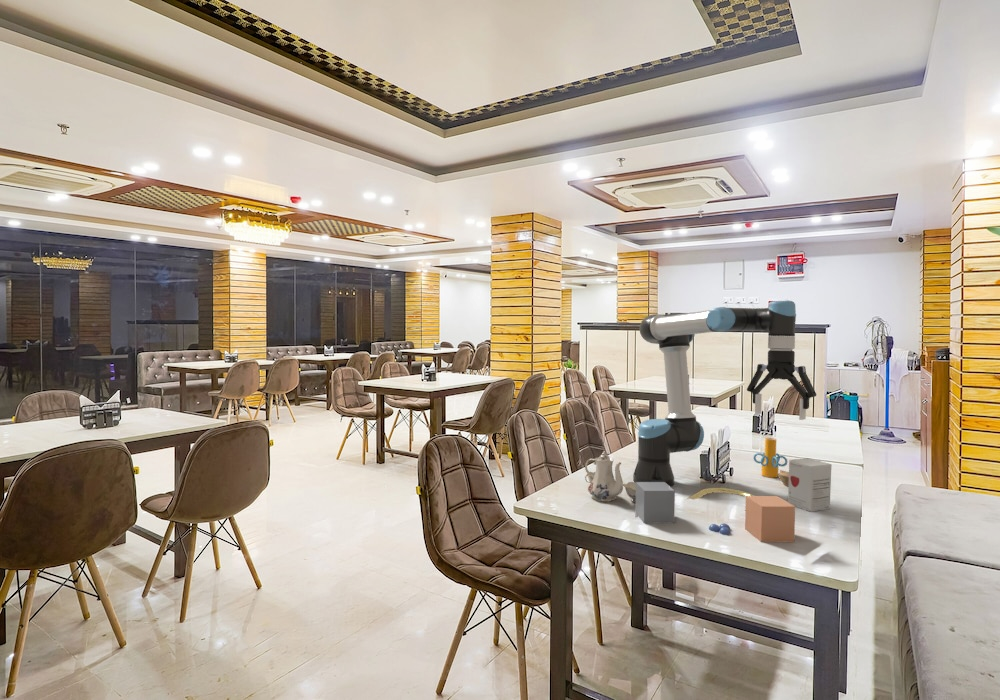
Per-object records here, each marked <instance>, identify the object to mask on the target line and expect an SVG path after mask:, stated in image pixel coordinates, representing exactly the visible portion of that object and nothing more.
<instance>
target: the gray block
mask: <svg viewBox="0 0 1000 700" xmlns="http://www.w3.org/2000/svg"><path fill="white" fill-rule="evenodd" d="M635 483H636V502H635V510H634V511H635V512H634V513H635V518H639V519H640V520H641V522H642V523H643V524H675V507H676V506H675V505H676V504H675V501H676V499H675V498H676V497H675V496H676V490H674V489H673V488H672V487H671V486H669V485H668V484H666V483H665V482H635Z"/></svg>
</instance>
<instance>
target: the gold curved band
mask: <svg viewBox="0 0 1000 700" xmlns="http://www.w3.org/2000/svg"><path fill="white" fill-rule="evenodd" d="M712 492H714V493H723V492H724V493H726V494H732V493H733V495H737V494H739V495H738V496H741V495H743V496H742V497H744V496H755V495H754V494H751V493H750V492H746V491H744V490H738V489H733V488H724V487H711V488H704V489H701V490H700V491H698V492H696V493H694V494H693V495H691V496H690V497H688V498H686V499H685V500H687V501H688V500H689V499H690V500H696V499H701V498H702V497H703V495H704V496H705V495H707V493H708V494H712ZM700 497H701V498H700Z"/></svg>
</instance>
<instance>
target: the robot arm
mask: <svg viewBox="0 0 1000 700" xmlns="http://www.w3.org/2000/svg"><path fill="white" fill-rule="evenodd" d="M796 318H797V313H796V303H795V302H794V301H793V300H774V301H773V300H772V301H770V302H769V304H768V307H765V308H763V307H761V308H758V307H757V308H755V307H754V308H750V307H749V308H748V307H726V306H720V307H713V308H711V309H708V310H701V311H700V310H699V311H694V312H689V313H688V312H687V313H680V314H658V313H657V314H656V313H655V314H649V315H648V316H646V317H644V318H643V319H642V320H641V322H640V324H639V333H640V335H641V337H642V339H643V340H644V341H645V342H647V343H649V344H653V345H654V344H655V345H658V346H659V347H658V349H659V350H660V351H661V352H662V353H663V361H664V362H663V363H664V372H665V374H664V375H665V386H666V399H667V407H668V413H667V414H666V415H665V416H664V418H656V419H655V418H652V419H647V420H644V421H642V422H640V424H639V425H638V432H637V436H638V437H637V438H638V444H637V445H638V454H637V455H638V456H637V459H638V460H637V462H636V466H635V468H634V472H633V475H632V476H633V477H632V479H633V481H632V482H635V483H636V482H665V483H666V484H668V485H669V486H670V487H671V486H673V485H674V484H675V475H674V473H673V470H672V469H673V468H672V466H671V460H670V459H671V454H673V453H681V452H690V451H694V450H698V449H699V448H700V446H702V444H703V442H704V438H705V431H704V427H703V426H702V424H701V423H700V422H699V421H698V420H697V416H696V415H695V413H693V412H692V405H691V403H692V402H691V394H690V393H691V391H690V382H689V381H690V380H689V370H688V368H689V367H688V357H687V351H688V350H689V349H690V348H691V346H690V343H692V342H693V340H694V338H695V335H697V334H706V333H719V332H732V331H733V332H734V331H735V332H768V333H767V334H768V337H767V338H768V340H767V341H768V342H767V348H768V349H769V350H768V351H767V364H764V363H759V364H757V367H756V371H755V373H754V374H753V377H752V378H751V380H750V382H749V384H748V386H747V388H746V391H747V392H749V393H751V394H752V403H753V404H754V405H755V406H754V415H761V414H762V396H763V395H762V394H763V393H760V392H762V390H763V389H764V388H765V387H766V386H767V385H768V384H769V383H770V382H771V381H772V380H773V379H774V380H779V379H780V380H787V381H788V382H789V383H791V385H792V386H793V388H795V391H797V392H798V394H799V395H800V397H801V398H799V415H798V416H799V417H798V420H801V421H803V420H806V419H807V418H806V417H807V416H806V415H807V413H806V412H807V410H808V409H809V408H810V399H811V398H815V397H817V393H816V390H815V388H814V387H813V385H812V382H811V380H810V378H809V377H808V375H807V371H806V366H805V365H800V366H795V356H796V355H795V350H794V349H795V348H796ZM766 370H767V372H768V373H767V374H766V375H765V376H764V378H763V379H762V380H761V381H760V379H761V378H762V376H763V374H764V372H766ZM795 372H796V374H798V376H799V378H800V380H801V382H802V384H801V383H800V382H799V380H798V379H797V377H796V375H794V373H795ZM759 381H760V382H759ZM757 384H758V385H757Z"/></svg>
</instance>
